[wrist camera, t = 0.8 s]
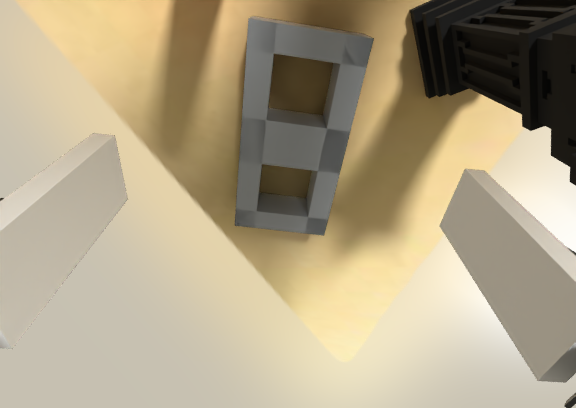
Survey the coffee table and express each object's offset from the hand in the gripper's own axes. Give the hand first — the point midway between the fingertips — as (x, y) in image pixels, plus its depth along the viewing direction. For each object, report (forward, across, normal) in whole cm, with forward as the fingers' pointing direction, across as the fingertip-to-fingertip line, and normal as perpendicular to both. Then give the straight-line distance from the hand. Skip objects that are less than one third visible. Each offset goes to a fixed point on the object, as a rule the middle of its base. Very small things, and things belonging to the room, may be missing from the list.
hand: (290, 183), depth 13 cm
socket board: (+22, +1, -6) cm, 23 cm away
